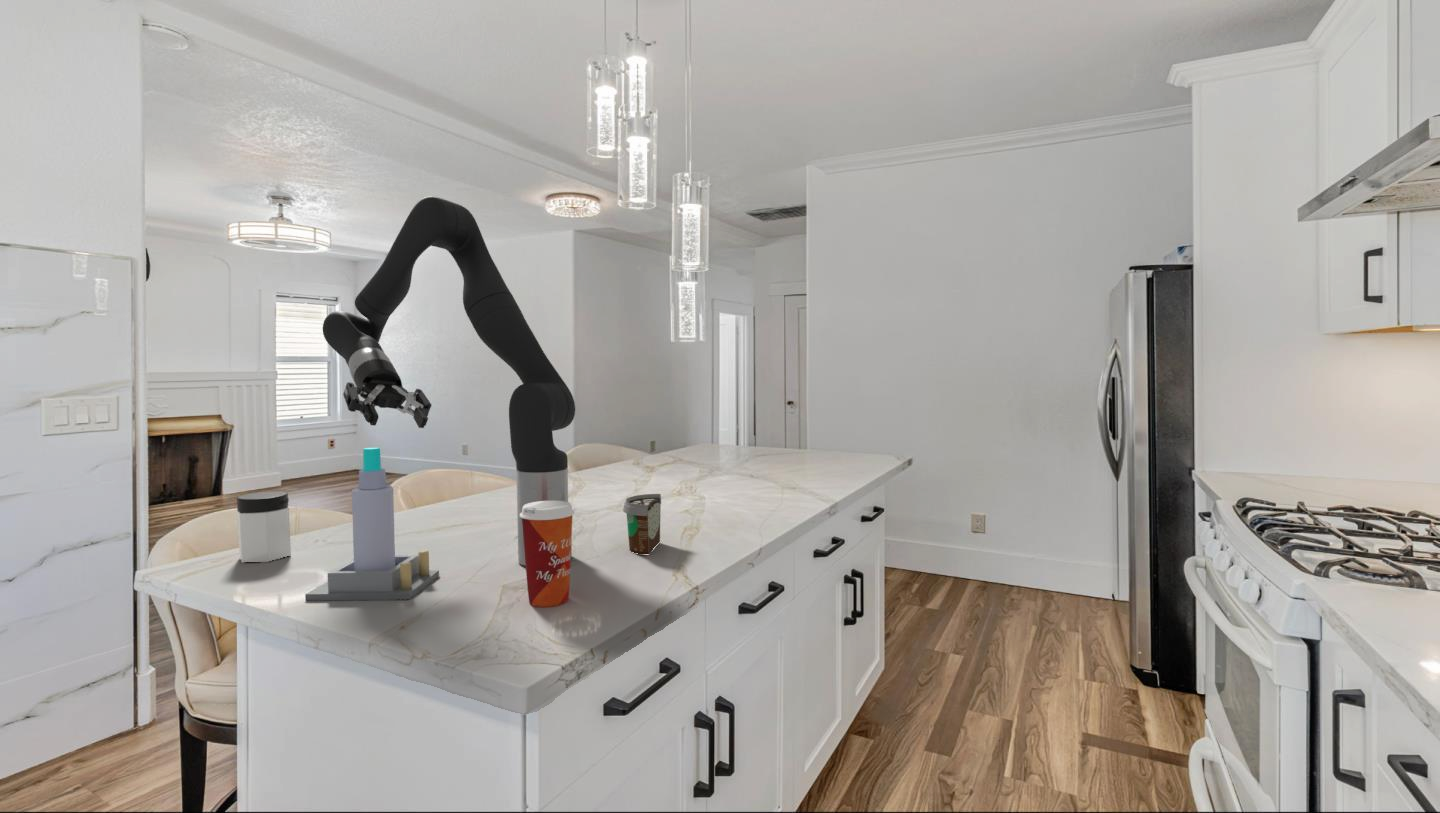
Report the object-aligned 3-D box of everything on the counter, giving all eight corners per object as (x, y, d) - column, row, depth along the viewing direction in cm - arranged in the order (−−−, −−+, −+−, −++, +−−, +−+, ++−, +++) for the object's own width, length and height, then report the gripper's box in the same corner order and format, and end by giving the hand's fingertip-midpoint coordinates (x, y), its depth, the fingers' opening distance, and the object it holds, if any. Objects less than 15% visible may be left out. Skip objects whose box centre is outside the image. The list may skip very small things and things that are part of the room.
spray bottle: (372, 589, 110) (368, 451, 108) (346, 584, 112) (341, 449, 111) (403, 578, 115) (400, 447, 114) (377, 573, 118) (374, 445, 116)
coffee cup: (548, 613, 101) (546, 512, 101) (509, 603, 106) (507, 506, 105) (587, 597, 109) (586, 502, 108) (550, 588, 113) (548, 497, 112)
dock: (439, 576, 120) (438, 547, 119) (409, 599, 108) (408, 568, 108) (345, 577, 120) (344, 548, 119) (305, 600, 108) (304, 569, 107)
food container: (632, 540, 144) (632, 492, 143) (661, 541, 143) (661, 493, 142) (615, 556, 132) (614, 504, 131) (647, 557, 131) (646, 505, 130)
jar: (294, 558, 131) (291, 495, 131) (242, 566, 126) (239, 501, 125) (287, 548, 138) (284, 489, 137) (237, 556, 133) (234, 494, 132)
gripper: (340, 353, 128) (364, 402, 118) (417, 362, 138) (445, 408, 128) (329, 387, 130) (352, 438, 120) (405, 393, 141) (432, 441, 131)
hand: (399, 422), depth 124 cm, fingers open, 8 cm apart
